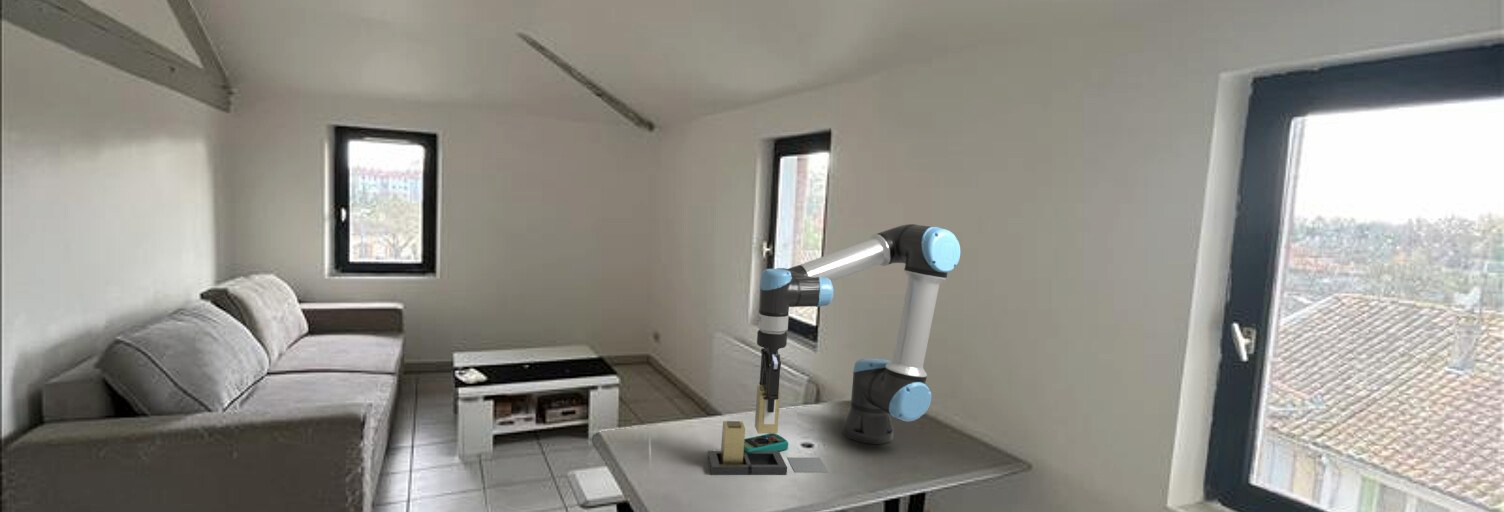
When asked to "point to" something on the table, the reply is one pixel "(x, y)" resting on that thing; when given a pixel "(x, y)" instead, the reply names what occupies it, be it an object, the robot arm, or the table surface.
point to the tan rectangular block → (759, 415)
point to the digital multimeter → (765, 443)
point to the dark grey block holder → (749, 464)
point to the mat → (807, 465)
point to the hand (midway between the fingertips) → (766, 419)
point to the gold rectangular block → (732, 443)
